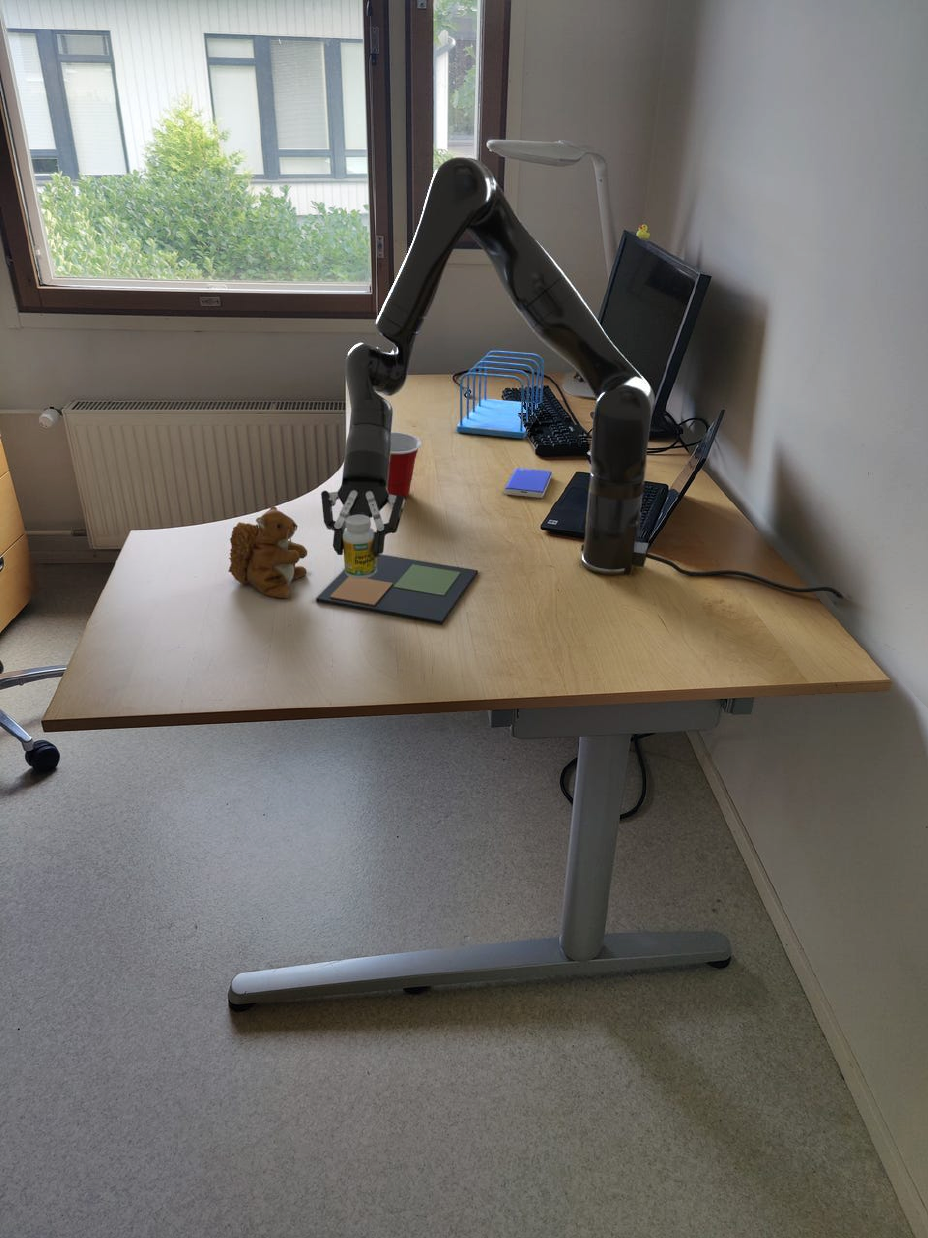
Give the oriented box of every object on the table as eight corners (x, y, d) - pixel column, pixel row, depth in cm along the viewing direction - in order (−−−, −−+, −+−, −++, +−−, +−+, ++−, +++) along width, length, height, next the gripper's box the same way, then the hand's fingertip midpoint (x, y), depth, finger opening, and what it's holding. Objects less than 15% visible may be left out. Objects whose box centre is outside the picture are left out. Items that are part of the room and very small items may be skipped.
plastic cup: (390, 509, 180) (389, 452, 174) (359, 493, 187) (357, 438, 181) (431, 496, 187) (432, 441, 181) (400, 481, 194) (399, 428, 188)
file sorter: (482, 405, 244) (484, 348, 236) (544, 411, 240) (548, 353, 232) (456, 432, 223) (457, 371, 216) (523, 440, 219) (527, 377, 212)
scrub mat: (477, 573, 156) (477, 569, 156) (441, 624, 141) (442, 620, 140) (362, 554, 162) (362, 550, 162) (316, 601, 146) (315, 597, 146)
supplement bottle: (367, 562, 150) (365, 509, 146) (383, 574, 147) (381, 521, 142) (339, 569, 148) (335, 516, 143) (353, 582, 144) (350, 528, 139)
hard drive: (515, 467, 198) (504, 487, 188) (552, 470, 196) (543, 491, 186) (515, 474, 199) (504, 494, 188) (551, 477, 197) (542, 498, 187)
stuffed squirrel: (291, 601, 146) (284, 527, 140) (215, 588, 150) (205, 516, 143) (317, 575, 155) (312, 504, 148) (244, 563, 158) (236, 494, 151)
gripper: (320, 446, 144) (309, 544, 140) (408, 450, 144) (399, 549, 139) (328, 465, 152) (318, 559, 147) (412, 469, 151) (404, 564, 147)
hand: (357, 554), depth 143 cm, fingers closed on supplement bottle, 5 cm apart
